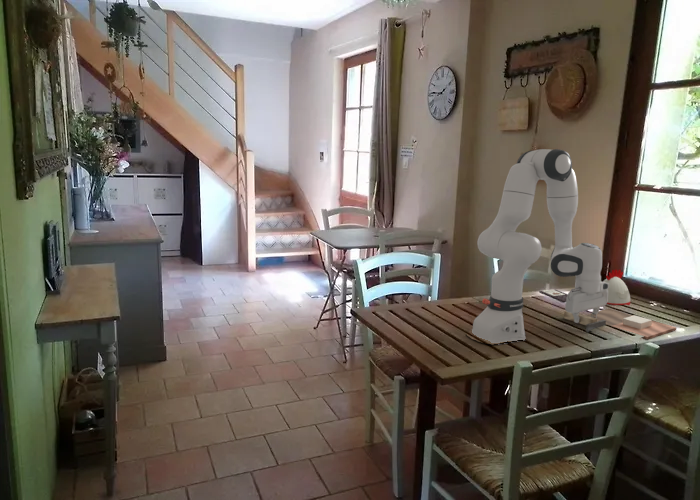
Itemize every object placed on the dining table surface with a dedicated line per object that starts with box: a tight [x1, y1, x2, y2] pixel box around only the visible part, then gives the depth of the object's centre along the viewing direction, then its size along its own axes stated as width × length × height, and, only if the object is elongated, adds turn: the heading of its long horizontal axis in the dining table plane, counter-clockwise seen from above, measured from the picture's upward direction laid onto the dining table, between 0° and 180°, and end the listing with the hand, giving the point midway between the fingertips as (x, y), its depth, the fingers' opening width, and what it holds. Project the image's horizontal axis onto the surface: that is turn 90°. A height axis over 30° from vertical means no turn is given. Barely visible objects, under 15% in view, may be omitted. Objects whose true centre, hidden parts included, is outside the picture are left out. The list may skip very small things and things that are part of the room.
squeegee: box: [563, 310, 607, 333], centre depth 204 cm, size 14×10×4 cm
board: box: [585, 308, 677, 340], centre depth 204 cm, size 18×28×1 cm, turn 29°
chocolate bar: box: [538, 289, 568, 304], centre depth 242 cm, size 9×1×18 cm
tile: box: [623, 315, 653, 329], centre depth 199 cm, size 7×7×2 cm
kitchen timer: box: [602, 268, 631, 306], centre depth 230 cm, size 14×14×15 cm
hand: (585, 320), depth 202 cm, fingers open, 8 cm apart
